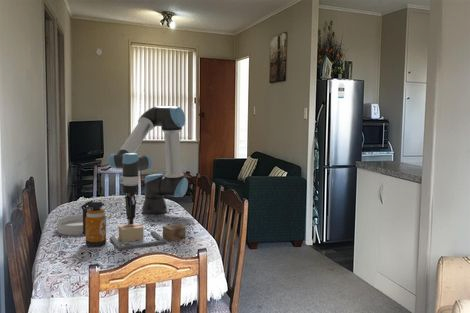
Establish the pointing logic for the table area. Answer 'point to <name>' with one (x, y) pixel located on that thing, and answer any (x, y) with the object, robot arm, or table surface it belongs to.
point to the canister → (94, 223)
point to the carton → (131, 232)
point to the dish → (70, 225)
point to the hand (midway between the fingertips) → (130, 231)
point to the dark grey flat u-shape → (157, 236)
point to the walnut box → (174, 232)
